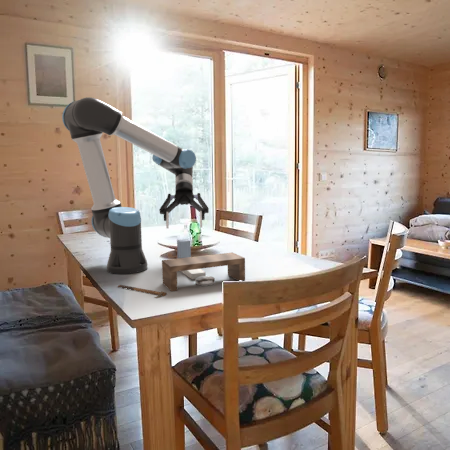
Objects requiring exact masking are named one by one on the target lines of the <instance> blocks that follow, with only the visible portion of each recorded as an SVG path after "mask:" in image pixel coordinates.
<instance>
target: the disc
mask: <svg viewBox="0 0 450 450" xmlns="http://www.w3.org/2000/svg"><path fill="white" fill-rule="evenodd" d="M215 281H216V280H215V277H214V276H210V275H206V276H201V277H197V278H196V279H195V285H197V286H200V285H201V286H202V287H205V286H206V287H208V286H213V285H214V284H215V283H216V282H215Z"/></svg>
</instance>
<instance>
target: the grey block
mask: <svg viewBox="0 0 450 450" xmlns="http://www.w3.org/2000/svg"><path fill="white" fill-rule="evenodd" d="M176 244H177V245H176V246H177V248H176V249H177V258H186V257H192V251H191V250H192V245H191V240H190V239H187V238H185V239H184V238H183V239H176ZM180 272H181V273H183V274H184V275H185V276H187V277H188V278H189V279H191V280H196V278H197V277H201V276H207V274H206V271H204V270H203V269H193V270H185V271H180Z"/></svg>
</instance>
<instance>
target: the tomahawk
mask: <svg viewBox="0 0 450 450" xmlns="http://www.w3.org/2000/svg"><path fill="white" fill-rule="evenodd" d="M119 287H122V288H121V289H124V288H127V289H126V290H129V289H131V290H130V291H134V290H136V291H135V292H139V291H141V292H140V293H144V292H145V294H149V293H150V295H156V296H154V297H153V299H158V298H161V297H165V296H167V295H168V294H167V292H166V291H162V290H161V291H156V290H151V289H145V288H139V287H134V286H130V285H125V284H119V285H118V286H117V288H119Z"/></svg>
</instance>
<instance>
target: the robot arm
mask: <svg viewBox="0 0 450 450" xmlns="http://www.w3.org/2000/svg"><path fill="white" fill-rule="evenodd" d="M61 119H62V123H63V125H64V127H65V128H66V129H67V131H69V134H70V135H69V136H70V138H71V140H72V141H73V142H74V143H76V145H77V148H78V151H79V152H78V153H79V154H80V158H81V162H82V166H83V170H84V173H85V176H86V180H87V184H88V187H89V191H90V193H91V194H90V195H91V199H92V202H93V205H92V206H91V207H90V208H91V213H92V217H91V226H92V229H93V230H94V231H95V233H97V234H98V235H99V236H101V237H103V238H107V239H109V243H110V244H109V245H110V253H109V256H108V260H107V263H106V272H107V273H110V272H111V273H110V274H115V273H117V274H118V275H127V274H136V273H140V272H143V271H146V270H148V261H147V258H146V256H145V253H144V250H143V242H142V241H143V240H142V238H143V237H142V217H141V212H140V210H138V209H137V208H134V207H128V206H122V203H121V201H120V200H119V199H117V198H116V195H115V192H114V188H113V185H112V180H111V176H110V172H109V169H108V165H107V161H106V157H105V153H104V149H103V146H102V141H101V138H102V136H103V134H105V135H108V136H113V135H114V136H116V137H118V138H120V139H122V140H124V141H126V142H128V143H130V144H132V145H133V146H135V147H138V148H139V149H142V150H144V151H146V152H148V153H149V154H151V155H152V157H151V158H152V161H153V162H154V163H155V164H156V165H157V166H159V167H162V168H163V169H165V170H166V171H168V172H170V173H172V174H173V175H175V189H174V191H175V192H174V193H175V194H174V195H173V194H171V193H168V194H167V196H166V199H165V200H164V202H163V204H162V205H161V206H160V208H159V214H160V215H163V221H164V222H166V223H165V226H166V229H169V223H170V222H169V221H170V215H169V214H170V213H171V212H172V211H173V210H174V209H175V208H176V207H178V206H179V205H180V206H181V205H182V206H185V205H186V206H187V205H190V206H191V207H193V208H194V209H195V210H197V212H198V213H199V223H200V224H199V226H200V227H199V228H202V229H203V221H205V216H206V215H205V214H209V212H210V211H209V209H210V208H209V206H208V205H207V203H206V202H205V201H204V199H203V198H202V197H201V193H200V192H197V194H194V185H193V182H194V181H193V180H194V179H193V175H194V173H193V170H194V169H193V167H194V165H196V161H197V157H196V153H195V152H194V151H193V150H191V149H187V148H182V147H180V146H178V145H176V144H175V143H173V142H171V141H169V140H167V139H166V138H164V137H162V136H160V135H158V134H156V133H154V131H153V132H152V130H149V129H147V128H145V127H143V126H142V125H140V124H139V123H136V122H135V121H133V120H131V119H130V118H128V117H126V116H123V112H122V111H121V110H119V109H117V108H116V107H114V106H112V105H110V104H108V103H107V102H104V101H102V100H100V99H98V98H94V97H83V98H80V99H77V100H73V101H71V102H70V103H68V105H66V106H65V108H64V109H63V111H62V115H61ZM173 199H174V200H173ZM195 200H196V201H195ZM117 274H116V275H117Z"/></svg>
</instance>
